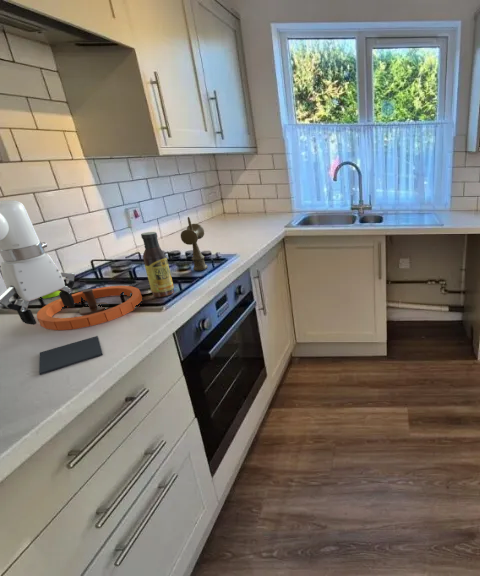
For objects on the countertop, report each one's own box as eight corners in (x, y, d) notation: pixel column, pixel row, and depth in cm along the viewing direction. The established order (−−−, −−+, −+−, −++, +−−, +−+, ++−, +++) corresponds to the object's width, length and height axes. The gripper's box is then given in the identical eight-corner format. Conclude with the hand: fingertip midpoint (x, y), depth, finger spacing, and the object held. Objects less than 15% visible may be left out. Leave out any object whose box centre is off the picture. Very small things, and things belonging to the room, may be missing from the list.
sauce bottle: (163, 299, 111) (145, 236, 104) (148, 297, 113) (129, 235, 106) (180, 291, 117) (164, 231, 109) (165, 289, 119) (149, 230, 111)
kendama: (212, 264, 141) (200, 213, 133) (206, 273, 132) (193, 219, 125) (195, 266, 140) (183, 214, 132) (188, 274, 131) (174, 220, 123)
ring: (40, 340, 90) (36, 331, 89) (40, 309, 107) (37, 301, 106) (149, 310, 105) (147, 302, 104) (135, 287, 121) (132, 280, 120)
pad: (39, 374, 77) (39, 373, 76) (40, 353, 84) (39, 352, 84) (102, 354, 83) (102, 353, 83) (97, 337, 91) (97, 335, 91)
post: (80, 317, 101) (72, 297, 99) (78, 309, 106) (71, 290, 104) (110, 309, 105) (103, 290, 103) (107, 302, 110) (100, 283, 108)
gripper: (49, 241, 97) (73, 299, 103) (-33, 264, 81) (2, 329, 88) (70, 243, 95) (93, 301, 102) (-9, 266, 79) (24, 332, 86)
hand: (51, 314), depth 95 cm, fingers open, 9 cm apart
